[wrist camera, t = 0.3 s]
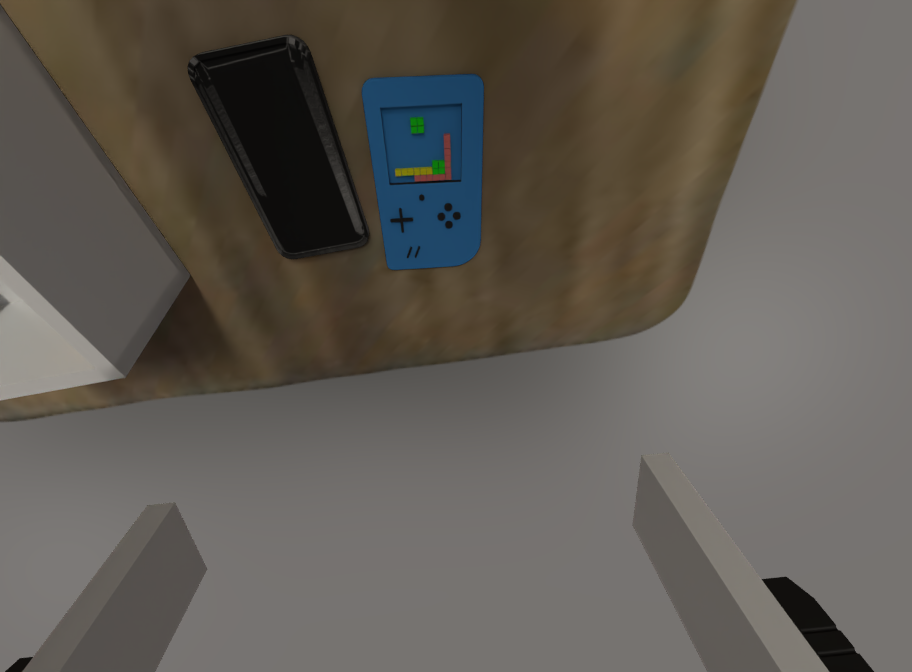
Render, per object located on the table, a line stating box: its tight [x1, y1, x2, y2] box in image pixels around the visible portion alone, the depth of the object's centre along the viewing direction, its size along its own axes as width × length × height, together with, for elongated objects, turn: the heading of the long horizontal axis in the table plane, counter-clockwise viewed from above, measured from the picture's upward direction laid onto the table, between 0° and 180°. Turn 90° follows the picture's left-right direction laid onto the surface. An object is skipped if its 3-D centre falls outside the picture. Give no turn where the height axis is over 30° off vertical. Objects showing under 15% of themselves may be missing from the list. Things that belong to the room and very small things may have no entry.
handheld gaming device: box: [362, 74, 484, 270], centre depth 34 cm, size 8×1×15 cm
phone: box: [188, 35, 369, 259], centre depth 32 cm, size 8×1×15 cm
